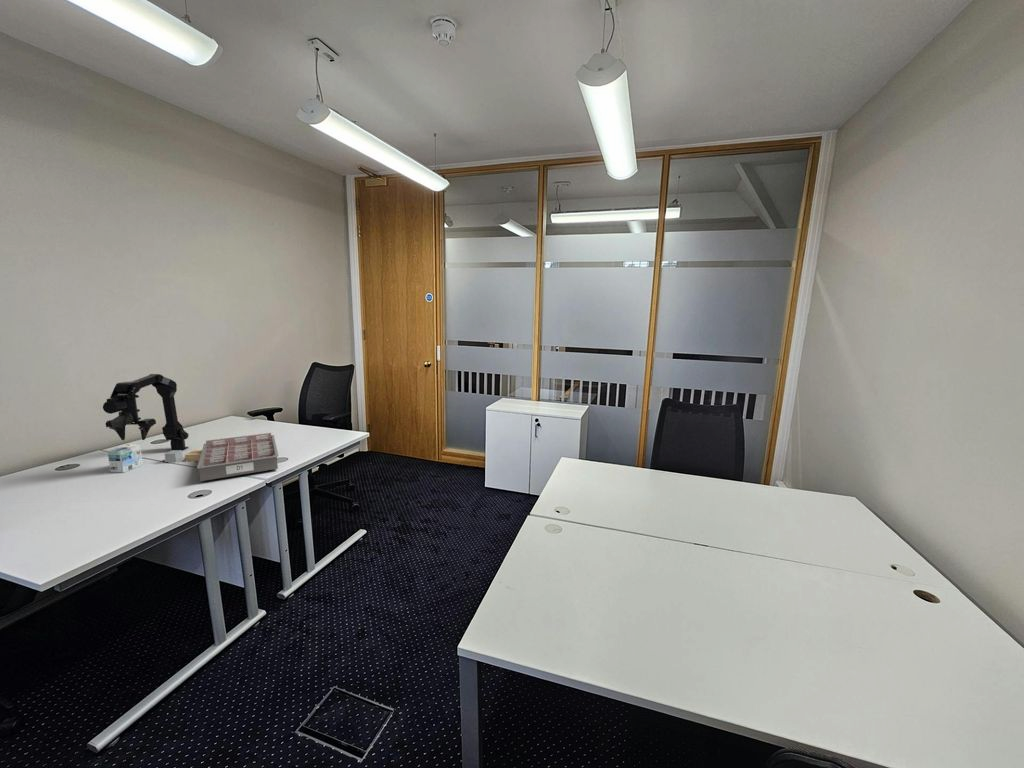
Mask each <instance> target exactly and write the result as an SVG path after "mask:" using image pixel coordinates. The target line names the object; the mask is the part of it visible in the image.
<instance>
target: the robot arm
mask: <svg viewBox="0 0 1024 768" xmlns="http://www.w3.org/2000/svg"><path fill="white" fill-rule="evenodd" d="M150 385H151V386H152V387H154V388H155V389H156V392H157V394H158V395H159V396H160V397H161V400H162V405H163V411H164V417H165V425H164V426H162V428H161V430H162V435H163V436H164V438H165V440H166V441H170V442H169V443H170V449H169V450H168V452H169V451H172V450H182V451H184V450H186V449H189V446H186V440H188V438H189V434H190V433H188V432H187V431H186V430H184V427H183V424H181V423H180V422H179V420H178V413H177V408H176V400H175V395H176V393H177V392H178V390H177V389H178V388H177V387H178V386H177V382H176V381H175V380H172V379H170V378H168V377H167V376H166V377H165V376H163V374H160V373H151V374H149V375H146V376H143V377H140V378H138V379H135V380H132V381H122V382H117V383H115V386H114V387H113V390H112V392H111V394H110V397H109V398H106V401H105V402H104V403H103V406H102V409H103V412H105V413H107V414H110V415H111V414H115V413H118V416H116V417H114V418H113V419H109V420H107V421H106V422H105V427H106V428H108V429H110V430H114V431H115V432H116V433H117V435H118V436H119V438H120V439H121V440H122V441H125V440H126V426H127V425H128V426H129V425H131V426H132V425H135V426H136V425H137V426H138V430H140V436H141V440H142V441H145V440H146V438H147V436H148V434H149V431H150V429H151V428H152V427H153V426H154V425H156V424H157V420H156V419H155V418H144V419H142V418H141V417H139V412H141V411H140V409H139V408H138V407H137V406H138V404H137V399H139V397H140V396H139V395H138V394H137V393H139V392H140V391H141V389H143V388H145V387H148V386H150Z"/></svg>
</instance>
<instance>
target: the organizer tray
mask: <svg viewBox="0 0 1024 768" xmlns="http://www.w3.org/2000/svg"><path fill="white" fill-rule="evenodd" d="M201 450H202V452H201V455H200V459H199V461H197V462H198V463H197V466H196V469H198V473H199V474H198V475H199V481H200V482H202V481H210V480H216V479H222V478H229V477H234V476H241V475H247V474H253V473H260V472H265V471H271V470H277V469H278V468H279V467H278V465H279V464H278V457H279V451H278V447H277V443H276V439H275V435H273V434H272V432H266V433H258V434H251V435H241V436H233V437H232V436H231V437H224V438H218V439H217V438H216V439H208V440H205V443H203V446H202V449H201Z"/></svg>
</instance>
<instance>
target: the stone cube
mask: <svg viewBox="0 0 1024 768" xmlns="http://www.w3.org/2000/svg"><path fill="white" fill-rule="evenodd" d="M164 459H165V463H166V462H169V463H168V464H172V463H171V462H177V463H179V462H180V460H181V461H183V460H184V457H183V450H172V451H169V450H168V451H167V452H165V453H164ZM182 459H183V460H182ZM178 461H179V462H178Z"/></svg>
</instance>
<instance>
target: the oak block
mask: <svg viewBox="0 0 1024 768" xmlns="http://www.w3.org/2000/svg"><path fill="white" fill-rule="evenodd" d="M201 452H202V449H194V450H192V451H190V452H187V453H185V454H184V459H185V462H186V461H197V462H199V459H200V455H201Z"/></svg>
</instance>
